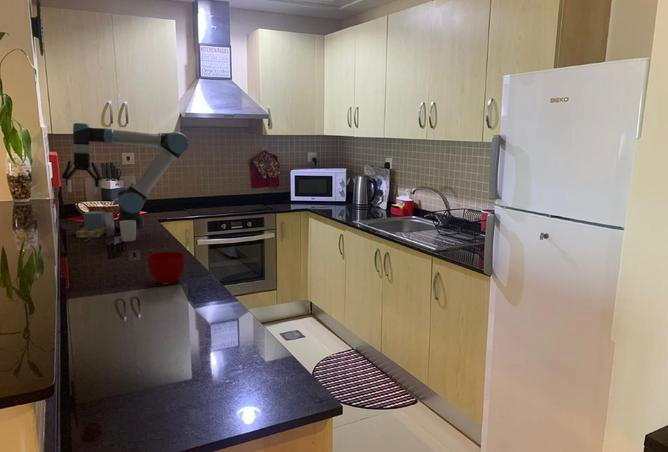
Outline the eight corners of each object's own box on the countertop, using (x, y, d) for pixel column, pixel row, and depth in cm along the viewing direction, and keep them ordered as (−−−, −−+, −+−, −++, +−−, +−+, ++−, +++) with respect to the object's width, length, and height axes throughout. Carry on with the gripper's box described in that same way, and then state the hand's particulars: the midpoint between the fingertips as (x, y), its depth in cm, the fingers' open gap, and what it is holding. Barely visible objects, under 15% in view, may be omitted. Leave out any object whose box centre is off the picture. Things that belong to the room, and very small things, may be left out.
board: (108, 230, 282) (108, 225, 282) (98, 237, 263) (98, 231, 262) (88, 230, 280) (87, 225, 280) (76, 237, 261) (75, 232, 260)
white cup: (131, 242, 251) (130, 222, 250) (117, 241, 253) (116, 222, 251) (140, 239, 259) (139, 220, 257) (126, 238, 261) (125, 219, 259)
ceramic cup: (167, 273, 196) (165, 248, 194) (192, 281, 185) (191, 255, 183) (136, 280, 186) (134, 254, 184) (161, 289, 175) (160, 262, 173)
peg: (115, 233, 272) (114, 212, 270) (113, 235, 268) (112, 213, 265) (107, 234, 271) (105, 212, 269) (105, 235, 267) (103, 213, 265)
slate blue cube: (106, 225, 281) (105, 211, 280) (101, 228, 272) (100, 213, 271) (89, 225, 279) (88, 211, 278) (84, 228, 271) (83, 213, 269)
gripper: (54, 151, 259) (55, 191, 263) (102, 154, 260) (103, 194, 264) (61, 151, 267) (62, 190, 270) (108, 153, 268) (108, 192, 271)
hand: (82, 192), depth 267 cm, fingers open, 13 cm apart
